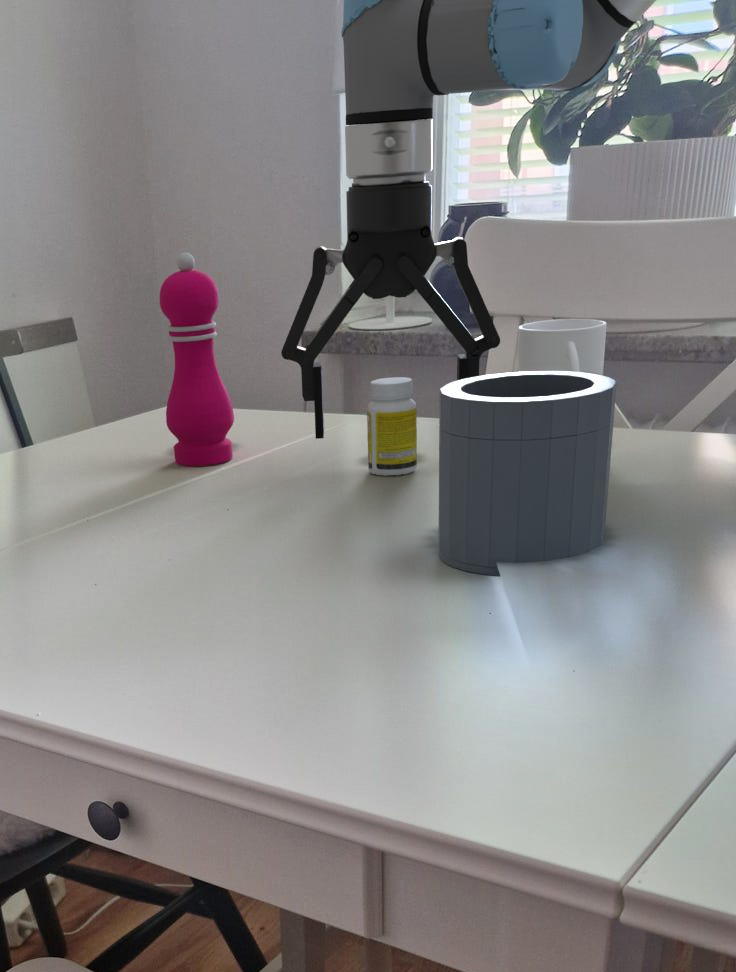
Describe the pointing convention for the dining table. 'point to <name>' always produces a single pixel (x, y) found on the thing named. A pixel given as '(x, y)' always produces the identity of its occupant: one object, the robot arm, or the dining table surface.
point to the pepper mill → (195, 369)
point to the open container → (523, 467)
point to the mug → (562, 346)
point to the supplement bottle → (392, 427)
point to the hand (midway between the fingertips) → (389, 432)
